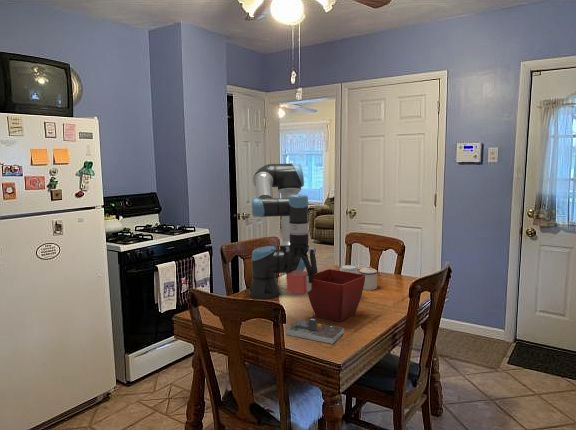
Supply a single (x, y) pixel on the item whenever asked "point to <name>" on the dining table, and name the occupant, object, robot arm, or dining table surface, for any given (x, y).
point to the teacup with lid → (369, 278)
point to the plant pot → (336, 293)
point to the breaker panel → (315, 332)
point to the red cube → (297, 282)
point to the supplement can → (349, 268)
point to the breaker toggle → (312, 324)
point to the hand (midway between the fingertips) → (299, 289)
